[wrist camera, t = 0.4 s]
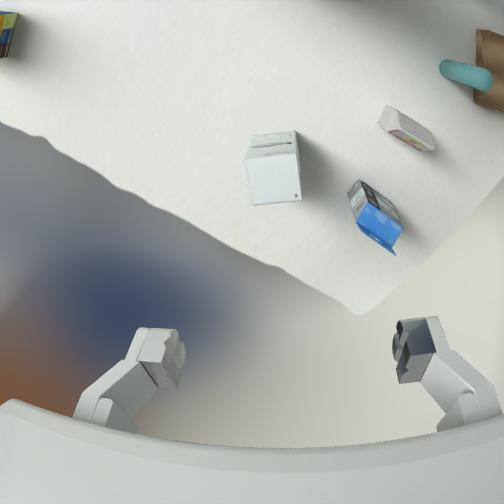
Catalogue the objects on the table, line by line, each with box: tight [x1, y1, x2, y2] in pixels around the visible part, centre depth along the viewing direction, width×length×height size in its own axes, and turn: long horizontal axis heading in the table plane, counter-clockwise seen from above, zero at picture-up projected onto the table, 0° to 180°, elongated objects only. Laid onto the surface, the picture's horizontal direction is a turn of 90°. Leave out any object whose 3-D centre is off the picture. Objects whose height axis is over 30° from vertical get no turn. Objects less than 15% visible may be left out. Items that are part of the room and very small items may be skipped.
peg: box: [440, 60, 493, 91], centre depth 35 cm, size 3×3×12 cm
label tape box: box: [347, 179, 403, 256], centre depth 52 cm, size 9×4×12 cm, turn 59°
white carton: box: [377, 105, 436, 152], centre depth 43 cm, size 4×7×10 cm, turn 70°
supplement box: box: [244, 130, 303, 206], centre depth 48 cm, size 7×7×13 cm
